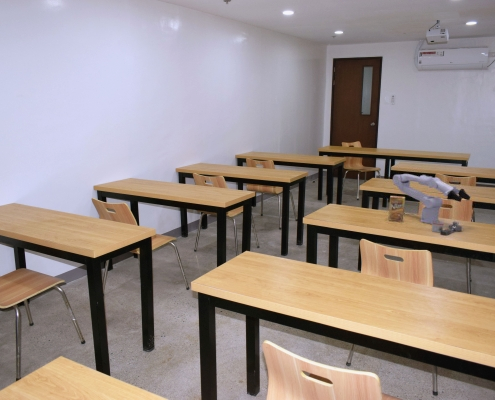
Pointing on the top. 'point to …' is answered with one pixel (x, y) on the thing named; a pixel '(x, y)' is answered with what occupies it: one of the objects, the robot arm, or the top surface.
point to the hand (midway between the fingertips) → (465, 199)
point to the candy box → (396, 208)
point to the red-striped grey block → (437, 226)
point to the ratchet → (452, 229)
